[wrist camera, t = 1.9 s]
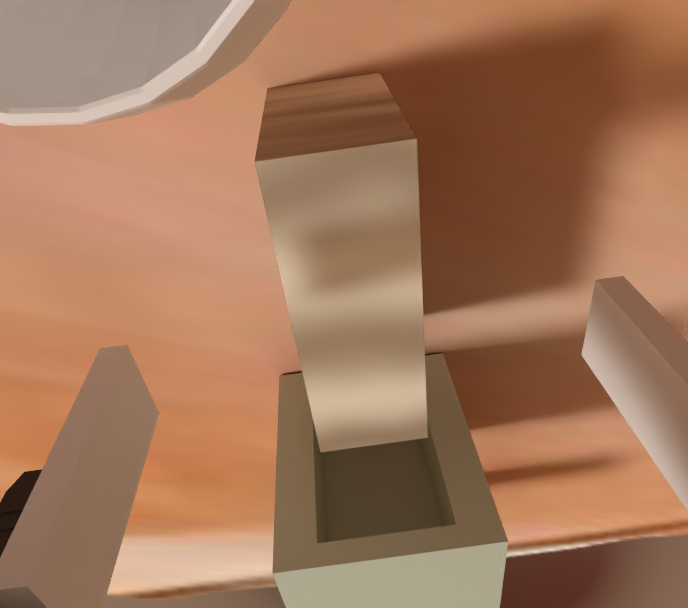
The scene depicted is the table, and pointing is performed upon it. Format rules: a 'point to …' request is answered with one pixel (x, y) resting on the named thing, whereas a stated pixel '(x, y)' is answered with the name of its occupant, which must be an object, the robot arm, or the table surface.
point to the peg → (349, 254)
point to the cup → (119, 54)
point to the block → (385, 512)
